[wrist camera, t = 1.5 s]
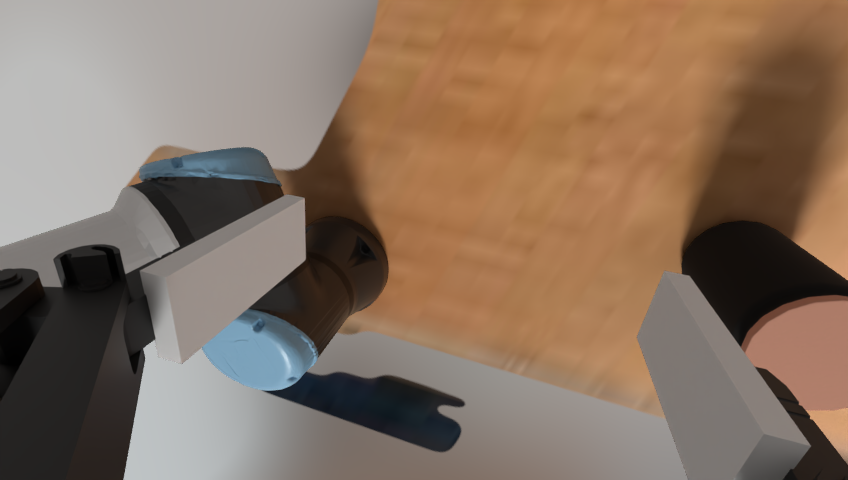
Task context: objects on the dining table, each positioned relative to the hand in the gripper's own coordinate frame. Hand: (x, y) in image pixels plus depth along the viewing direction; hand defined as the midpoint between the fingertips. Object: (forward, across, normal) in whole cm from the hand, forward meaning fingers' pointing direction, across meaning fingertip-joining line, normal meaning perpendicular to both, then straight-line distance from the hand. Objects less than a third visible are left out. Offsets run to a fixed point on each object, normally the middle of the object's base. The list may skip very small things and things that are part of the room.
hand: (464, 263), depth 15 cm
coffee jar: (+37, +28, -11) cm, 48 cm away
